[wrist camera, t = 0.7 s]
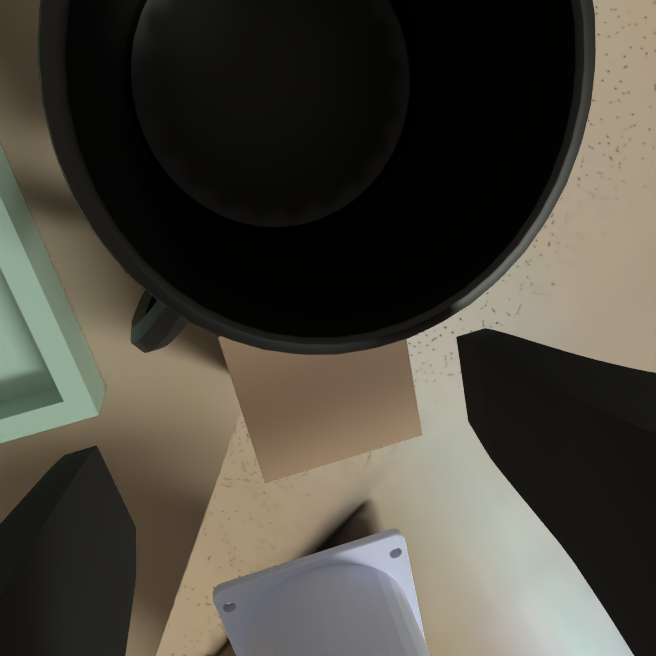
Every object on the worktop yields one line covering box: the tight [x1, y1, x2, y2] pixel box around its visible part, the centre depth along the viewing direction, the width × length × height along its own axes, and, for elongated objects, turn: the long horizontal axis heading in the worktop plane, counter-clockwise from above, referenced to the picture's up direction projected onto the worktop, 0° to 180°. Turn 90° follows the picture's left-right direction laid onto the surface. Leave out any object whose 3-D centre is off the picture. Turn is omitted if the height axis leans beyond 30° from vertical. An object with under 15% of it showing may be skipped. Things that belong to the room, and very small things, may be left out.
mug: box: [38, 0, 596, 355], centre depth 14 cm, size 9×12×9 cm
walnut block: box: [218, 335, 422, 483], centre depth 18 cm, size 5×5×6 cm
